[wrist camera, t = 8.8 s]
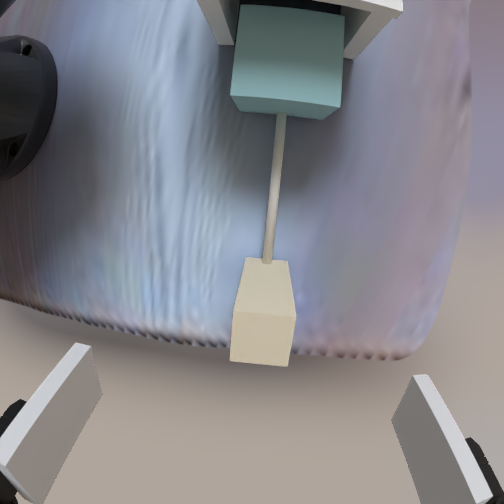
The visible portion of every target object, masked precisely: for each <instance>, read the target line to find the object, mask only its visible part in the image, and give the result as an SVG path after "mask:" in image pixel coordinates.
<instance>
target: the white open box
mask: <svg viewBox="0 0 504 504" xmlns="http://www.w3.org/2000/svg"><path fill="white" fill-rule="evenodd" d="M314 1H321V2H327V3H332V4H338V5H341V16H345V21H344V53H343V57H344V58H349V59H354V60H355V59H356V57H357V56H358V55H359V54H360V53H361V52H362V51H363V50H364V49H365V47H366V46H367V45H368V44H369V43H370V42H371V41H372V40H373V39H374V38H375V36H376V35H377V34H378V33H379V32H380V31H381V30H382V29H383V28H384V27H385V26H386V25H387V23H388V22H389V21H390V20H391V19H392V18H395V19H397V18H398V16H399V15H400V14H401V13H402V12H403V3H402V0H314ZM197 2H198V4H199V6H200V8H201V10H202V12H203V14H204V16H205V18H206V20H207V22H208V24H209V26H210V28H211V30H212V32H213V34H214V36H215V39H216V41H217V43H218V45H234V42H235V34H236V26H237V19H238V11H239V4H240V0H197Z"/></svg>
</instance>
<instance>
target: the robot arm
mask: <svg viewBox="0 0 504 504" xmlns="http://www.w3.org/2000/svg"><path fill="white" fill-rule="evenodd" d="M15 1H16V0H0V17H1V16H2V15H3V14H4V13H5V12H6V10H7V9H8V8H9V7H10V6H11V5H12V4H13V3H14V2H15ZM56 92H57V73H56V66H55V62H54V59H53V56H52V54H51V52H50V51H49V49H48V48H47V47H46V46H45V45H44V44H43V43H41V42H39V41H37V40H34V39H32V38H29V37H26V36H20V35H14V36H5V37H0V180H2V179H7V178H10V177H12V176H14V175H16V174H17V173H19V172H20V171H21V170H22V169H24V168H25V167H26V166H27V164H28V163H29V162H30V161H31V160H32V158H33V157H34V155H35V154H36V152H37V151H38V149H39V147H40V145H41V144H42V142H43V139H44V137H45V135H46V133H47V130H48V127H49V125H50V122H51V118H52V115H53V111H54V106H55V100H56ZM101 396H102V390H101V387H100V383H99V379H98V375H97V371H96V367H95V362H94V358H93V353H92V349H91V346H88V345H84V344H80V343H75V344H74V345H73V346H72V347H71V349H70V350H69V351H68V352H67V353H66V355H65V356H64V357H63V358H62V359H61V360H60V362H59V363H58V364H57V365H56V366H55V368H54V369H53V370H52V372H51V373H50V374H49V375H48V376H47V378H46V379H45V380H44V381H43V382H42V384H41V385H40V386H39V387H38V389H37V390H36V391H35V393H34V394H33V395H32V397H31V398H30V399H29V400H28V401H27V402H26V401H24V400H21V399H20V400H18V401H17V402H15V403H13V404H12V405H10V406H9V408H8V409H7V410H6V411H5V412H4V414H3V416H1V418H0V504H18V501H17V499H16V497H15V494H16V492H17V491H18V492H19V494H20V495H22V497H23V498H24V499H26V500H28V501H29V502H31V503H33V504H43V503H44V500H45V499H46V497H47V494H48V493H49V490H50V489H51V487H52V485H53V483H54V481H55V479H56V477H57V475H58V473H59V471H60V469H61V467H62V466H63V463H64V462H65V460H66V458H67V456H68V454H69V453H70V451H71V449H72V447H73V445H74V443H75V442H76V440H77V438H78V436H79V434H80V433H81V431H82V429H83V427H84V425H85V424H86V422H87V420H88V418H89V417H90V415H91V413H92V411H93V410H94V408H95V406H96V404H97V403H98V401H99V399H100V398H101ZM391 421H392V424H393V426H394V429H395V432H396V434H397V437H398V439H399V442H400V445H401V448H402V450H403V453H404V456H405V458H406V461H407V464H408V467H409V470H410V473H411V475H412V478H413V481H414V484H415V487H416V490H417V493H418V496H419V499H420V502H421V504H504V492H503V490H502V488H501V486H500V484H499V482H498V480H497V478H496V476H495V474H494V472H493V470H492V468H491V466H490V465H488V461H487V459H486V457H484V453H483V451H482V449H481V448H480V446H479V445H478V444H477V443H476V442H475V441H474V440H473V439H472V438H471V437H470V438H467V439H464V437H463V435H462V433H461V431H460V429H459V428H458V426H457V424H456V422H455V421H454V419H453V417H452V415H451V413H450V412H449V410H448V408H447V407H446V405H445V403H444V401H443V400H442V398H441V396H440V394H439V393H438V391H437V389H436V388H435V386H434V384H433V383H432V381H431V379H430V378H429V376H428V374H426V375H413V376H412V378H411V380H410V383H409V385H408V387H407V389H406V391H405V394H404V395H403V398H402V400H401V402H400V404H399V406H398V408H397V410H396V411H395V413H394V415H393V417H392V419H391Z"/></svg>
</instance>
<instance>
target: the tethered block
mask: <svg viewBox="0 0 504 504" xmlns="http://www.w3.org/2000/svg"><path fill="white" fill-rule="evenodd" d="M344 21H345V16H341V15H335V14H330V13H324V12H318V11H311V10H304V9H296V8H287V7H276V6H263V5H241V6H240V14H239V22H238V29H237V38H236V46H235V54H234V63H233V72H232V81H231V90H230V96H231V98H232V99H233V101H234V102H235V104H236V106H237V107H238V109H239V110H240V111H242V112H255V113H267V114H277V118H276V128H275V139H274V149H273V159H272V170H271V180H270V190H269V200H268V210H267V219H266V229H265V239H264V248H263V258H252V257H246V259H245V264H244V268H243V272H242V276H241V280H240V285H239V289H238V293H237V297H236V301H235V306H234V310H233V322H232V335H231V351H230V361H234V362H243V363H253V364H264V365H274V366H275V365H276V366H288V361H289V356H290V350H291V345H292V339H293V334H294V328H295V322H296V310H295V304H294V298H293V291H292V285H291V279H290V273H289V267H288V261H282V260H272V254H273V245H274V237H275V228H276V218H277V209H278V200H279V190H280V181H281V171H282V161H283V151H284V140H285V130H286V119H287V116H295V117H303V118H310V119H317V120H323V119H325V118H326V117H328V116H329V115H330V114H332V113H333V112H335V111H336V110H337V109H339V108H340V104H341V89H342V73H343V53H344Z"/></svg>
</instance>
